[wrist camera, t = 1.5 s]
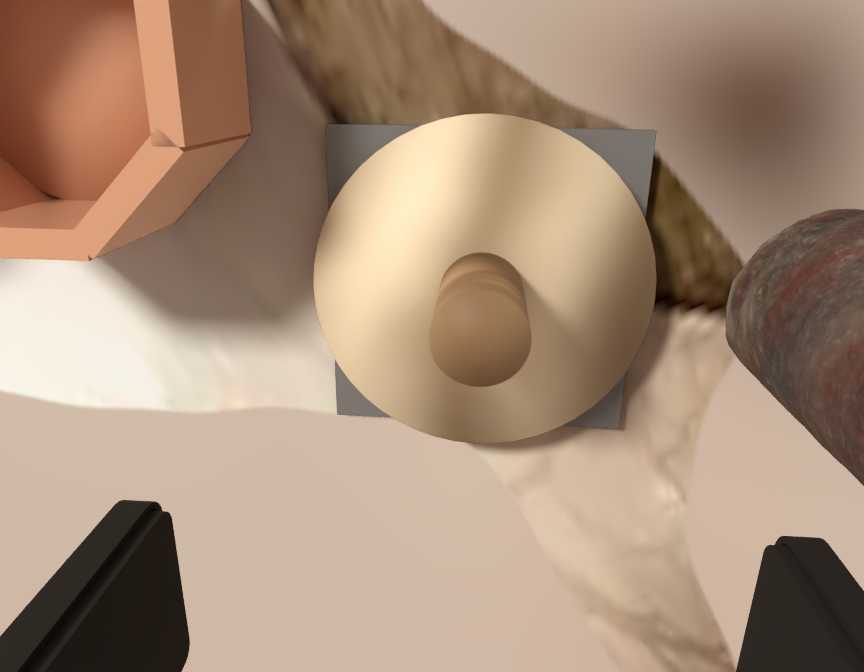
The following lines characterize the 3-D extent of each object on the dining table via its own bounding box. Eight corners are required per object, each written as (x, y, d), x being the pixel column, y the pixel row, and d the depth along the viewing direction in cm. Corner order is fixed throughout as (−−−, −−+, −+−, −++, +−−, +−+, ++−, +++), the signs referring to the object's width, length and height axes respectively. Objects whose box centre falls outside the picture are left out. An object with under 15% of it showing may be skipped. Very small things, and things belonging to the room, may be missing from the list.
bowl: (230, -127, 23) (146, -197, 17) (258, 226, 27) (198, 264, 21) (-105, -125, 23) (-292, -190, 18) (-27, 218, 28) (-157, 252, 22)
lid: (672, 116, 24) (729, 126, 18) (629, 439, 28) (663, 526, 23) (311, 109, 25) (259, 117, 19) (326, 424, 29) (288, 504, 24)
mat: (653, 130, 24) (656, 130, 24) (616, 422, 29) (618, 428, 28) (328, 123, 25) (325, 124, 25) (339, 409, 29) (337, 414, 29)
